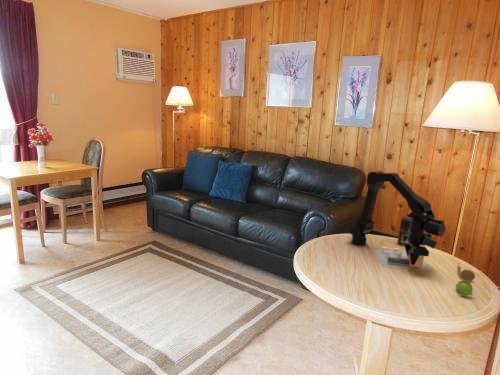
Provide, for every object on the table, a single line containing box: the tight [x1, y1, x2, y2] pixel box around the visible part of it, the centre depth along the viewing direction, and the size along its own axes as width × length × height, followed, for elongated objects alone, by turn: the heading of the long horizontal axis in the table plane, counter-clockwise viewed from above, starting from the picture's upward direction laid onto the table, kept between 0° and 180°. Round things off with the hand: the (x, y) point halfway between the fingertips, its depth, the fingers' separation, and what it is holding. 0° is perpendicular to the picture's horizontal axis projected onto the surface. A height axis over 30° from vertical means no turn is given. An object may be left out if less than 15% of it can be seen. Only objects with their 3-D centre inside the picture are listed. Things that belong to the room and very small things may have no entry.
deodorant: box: [397, 217, 412, 247], centre depth 175 cm, size 6×6×15 cm
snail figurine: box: [455, 262, 476, 296], centre depth 129 cm, size 5×6×12 cm
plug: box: [387, 255, 424, 268], centre depth 150 cm, size 14×4×4 cm, turn 81°
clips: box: [381, 246, 403, 259], centre depth 160 cm, size 7×6×3 cm
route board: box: [374, 249, 431, 272], centre depth 157 cm, size 20×18×1 cm
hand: (411, 262), depth 150 cm, fingers closed on plug, 4 cm apart
